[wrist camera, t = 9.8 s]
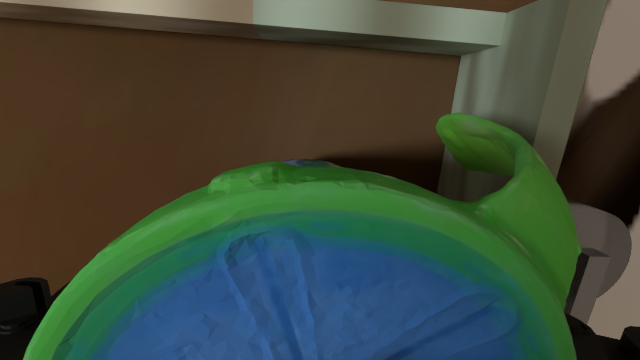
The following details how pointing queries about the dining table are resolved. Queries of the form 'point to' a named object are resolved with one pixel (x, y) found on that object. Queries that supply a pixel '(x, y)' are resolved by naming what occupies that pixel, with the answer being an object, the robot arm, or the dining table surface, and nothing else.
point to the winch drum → (596, 257)
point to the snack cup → (334, 267)
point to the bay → (403, 35)
